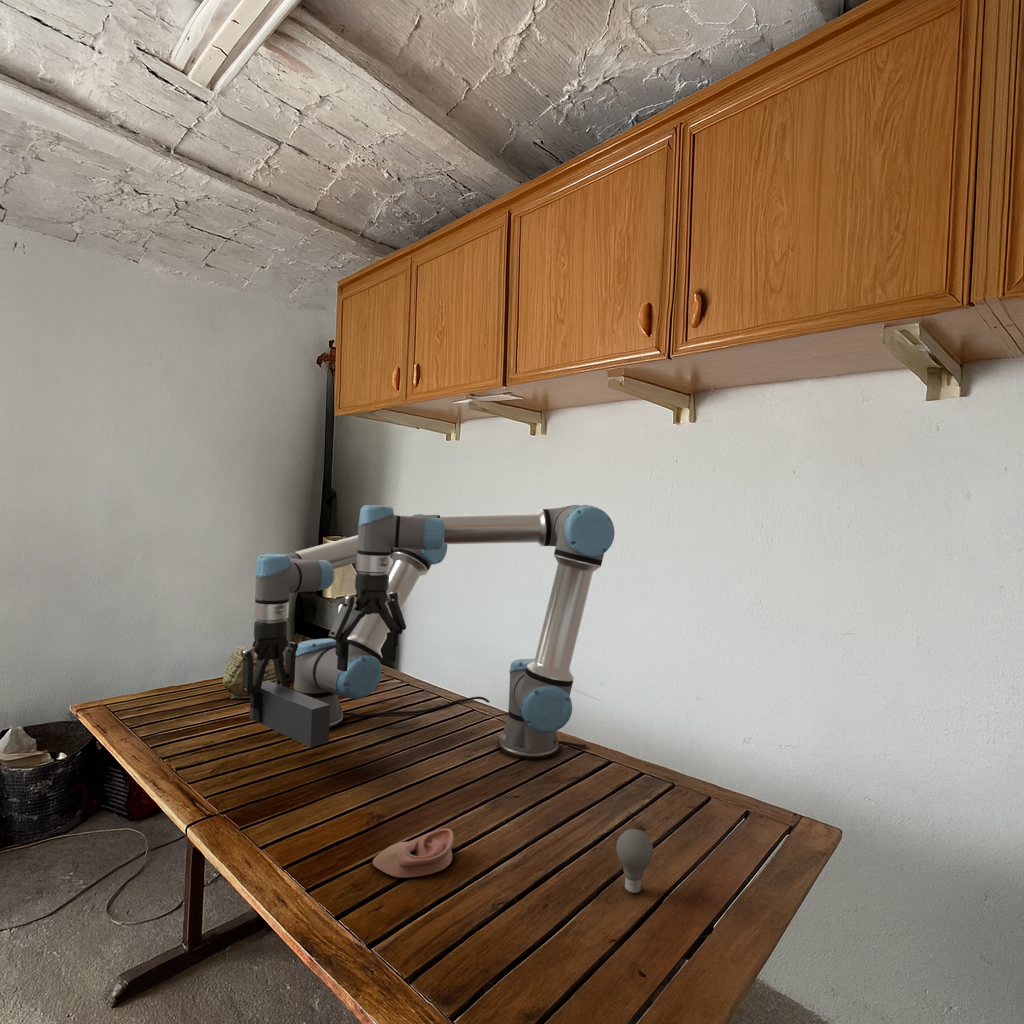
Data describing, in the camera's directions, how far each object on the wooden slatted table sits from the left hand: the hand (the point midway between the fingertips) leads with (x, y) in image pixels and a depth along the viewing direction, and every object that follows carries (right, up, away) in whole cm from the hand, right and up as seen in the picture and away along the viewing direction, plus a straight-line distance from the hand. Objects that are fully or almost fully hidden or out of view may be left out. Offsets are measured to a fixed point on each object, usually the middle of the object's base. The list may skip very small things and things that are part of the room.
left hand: (267, 717), depth 150 cm
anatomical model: (+40, -13, -38) cm, 57 cm away
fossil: (-23, -9, +48) cm, 54 cm away
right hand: (+25, +14, -5) cm, 28 cm away
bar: (+6, -1, -5) cm, 8 cm away
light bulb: (+78, -15, -44) cm, 91 cm away
